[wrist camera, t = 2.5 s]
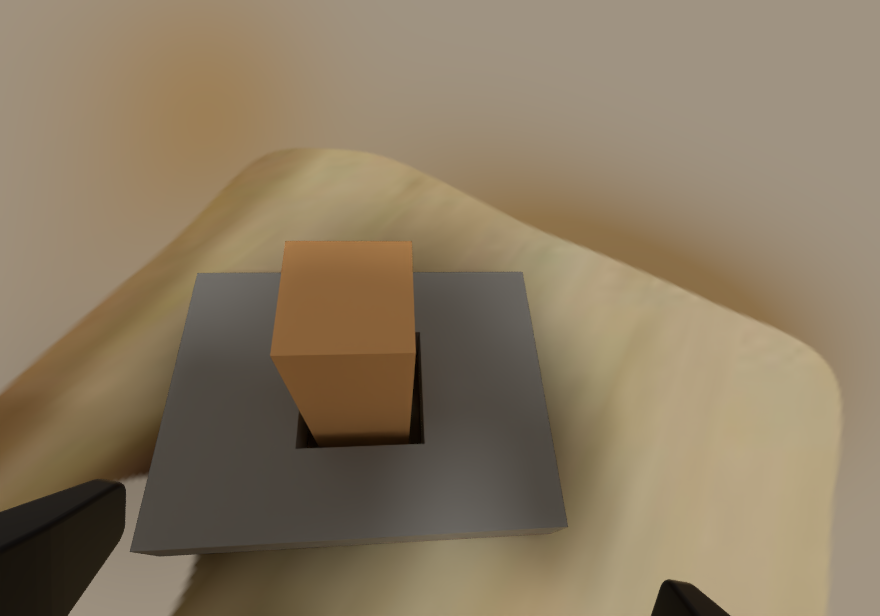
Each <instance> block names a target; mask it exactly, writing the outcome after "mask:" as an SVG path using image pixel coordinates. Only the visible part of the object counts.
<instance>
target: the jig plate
mask: <svg viewBox="0 0 880 616" xmlns="http://www.w3.org/2000/svg"><path fill="white" fill-rule="evenodd" d="M280 278H281V273H197V277H196V281H195V285H194V290H193V294H192V298H191V302H190V306H189V310H188V314H187V318H186V323H185V327H184V331H183V335H182V339H181V343H180V347H179V351H178V355H177V360H176V364H175V368H174V372H173V376H172V380H171V384H170V388H169V392H168V397H167V401H166V405H165V409H164V413H163V417H162V421H161V425H160V429H159V434H158V438H157V442H156V446H155V450H154V454H153V458H152V462H151V466H150V471H149V475H148V479H147V483H146V487H145V491H144V495H143V500H142V504H141V508H140V512H139V517H138V520H137V524H136V529H135V532H134V537H133V541H132V545H131V549H130V552H134V553H141V554H147V555H155V556H174V555H192V554H210V553H227V552H244V551H261V550H278V549H295V548H313V547H330V546H347V545H364V544H381V543H398V542H416V541H433V540H450V539H467V538H484V537H501V536H518V535H536V534H551V533H553V532H556V531H558V530H561V529H564V528H566V527H568V524H567V518H566V513H565V507H564V502H563V496H562V490H561V485H560V479H559V474H558V468H557V463H556V457H555V451H554V446H553V440H552V435H551V429H550V423H549V418H548V412H547V407H546V401H545V395H544V390H543V384H542V379H541V373H540V367H539V362H538V356H537V351H536V345H535V339H534V334H533V328H532V323H531V317H530V311H529V306H528V300H527V295H526V289H525V283H524V278H523V272H413V290H414V317H415V345H416V355H418V369H419V395H420V420H421V444H407V445H381V446H355V447H329V448H307V439H308V426H307V424H306V422H305V420H304V418H303V416H302V414H301V413H300V411H299V409H298V407H297V405H296V403H295V401H294V400H293V398H292V396H291V394H290V392H289V390H288V388H287V387H286V385H285V383H284V381H283V379H282V377H281V375H280V374H279V372H278V370H277V368H276V366H275V364H274V362H273V361H272V359H271V357H270V353H271V345H272V338H273V330H274V323H275V315H276V308H277V301H278V293H279V286H280Z"/></svg>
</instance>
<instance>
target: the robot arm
mask: <svg viewBox="0 0 880 616" xmlns="http://www.w3.org/2000/svg"><path fill="white" fill-rule="evenodd" d="M125 504H126V489H125V486H124V485H123V484H122V483H120V482H116V481H110V480H105V479H95V480H92V481H89V482H86V483H83V484H80V485H77V486H74V487H71V488H69V489H66V490H63V491H60V492H57V493H54V494H51V495H48V496H45V497H42V498H40V499H37V500H34V501H31V502H28V503H25V504H22V505H19V506H16V507H13V508H11V509H8V510H5V511H2V512H0V616H68V614H69V613H70V611H71V610H72V608H73V607H74V606H75V604H76V603H77V601H78V600H79V598H80V597H81V596H82V594H83V593H84V591H85V590H86V588H87V587H88V586H89V584H90V583H91V581H92V580H93V578H94V577H95V575H96V574H97V573H98V571H99V570H100V568H101V567H102V565H103V564H104V563H105V561H106V560H107V558H108V557H109V555H110V554H111V552H112V551H113V550H114V548H115V547H116V545H117V544H118V542H119V541H120V539H121V537H122V534H123V532H124V528H125V507H126V505H125ZM651 616H730V615H729V614H728V613H727V612H725V611H724V610H723V609H722V608H721V607H719V606H718V605H717V604H716V603H715V602H713V601H712V600H711V599H710V598H709V597H707V596H706V595H705V594H704V593H702V592H701V591H700V590H699V589H698V588H696V587H695V586H694V585H692V584H690V583H687V582H682V581H676V580H671V579H668V580H665V581H664V582H663V583H662V585H661V587H660V590H659V593H658V596H657V599H656V602H655V605H654V608H653V611H652V614H651Z"/></svg>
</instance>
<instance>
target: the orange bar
mask: <svg viewBox="0 0 880 616" xmlns="http://www.w3.org/2000/svg"><path fill="white" fill-rule="evenodd" d="M270 357H271V359H272V361H273V362H274V364H275V366H276V368H277V370H278V372H279V374H280V375H281V377H282V379H283V381H284V383H285V385H286V387H287V388H288V390H289V392H290V394H291V396H292V398H293V400H294V401H295V403H296V405H297V407H298V409H299V411H300V413H301V414H302V416H303V418H304V420H305V422H306V424H307V426H308V427H309V429H310V431H311V433H312V435H313V437H314V439H315V440H316V442H317V444H318V446H319V448H329V447H355V446H381V445H407V444H409V433H410V420H411V407H412V395H413V382H414V369H415V357H416V345H415V317H414V290H413V262H412V241H285V248H284V256H283V263H282V271H281V278H280V286H279V293H278V301H277V308H276V315H275V323H274V330H273V338H272V345H271V353H270Z"/></svg>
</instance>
